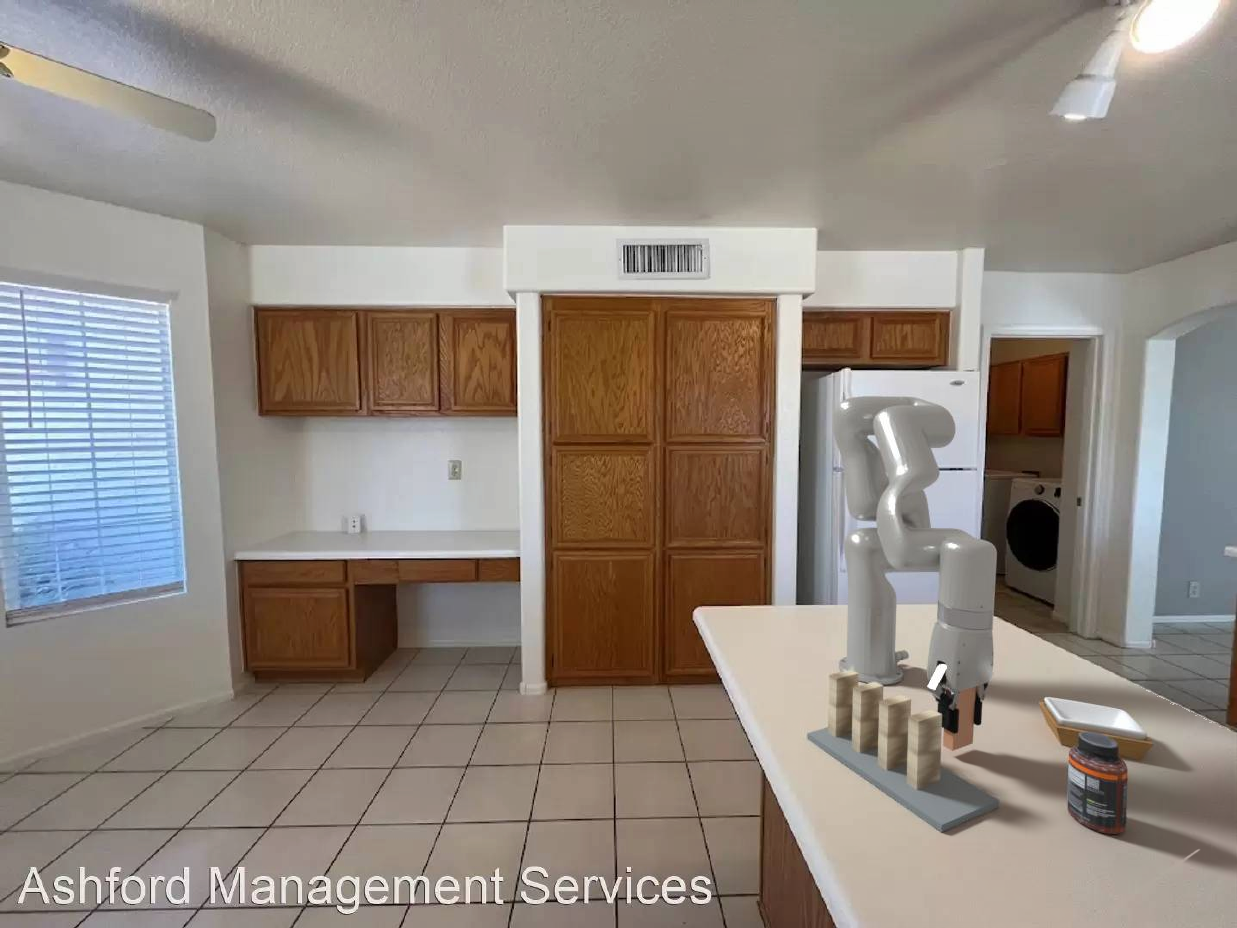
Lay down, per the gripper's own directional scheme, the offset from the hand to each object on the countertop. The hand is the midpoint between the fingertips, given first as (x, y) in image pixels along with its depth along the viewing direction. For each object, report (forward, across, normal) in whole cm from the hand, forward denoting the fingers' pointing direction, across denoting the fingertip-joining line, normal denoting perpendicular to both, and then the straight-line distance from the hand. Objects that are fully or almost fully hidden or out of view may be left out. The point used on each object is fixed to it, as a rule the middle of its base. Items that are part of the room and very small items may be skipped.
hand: (958, 723), depth 88 cm
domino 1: (+4, +13, -11) cm, 18 cm away
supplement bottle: (+5, -2, +18) cm, 19 cm away
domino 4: (+4, +13, +4) cm, 14 cm away
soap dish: (+6, -24, +7) cm, 26 cm away
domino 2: (+4, +13, -6) cm, 15 cm away
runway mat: (+5, +13, -1) cm, 14 cm away
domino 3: (+4, +13, -1) cm, 14 cm away
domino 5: (+4, 0, 0) cm, 4 cm away
